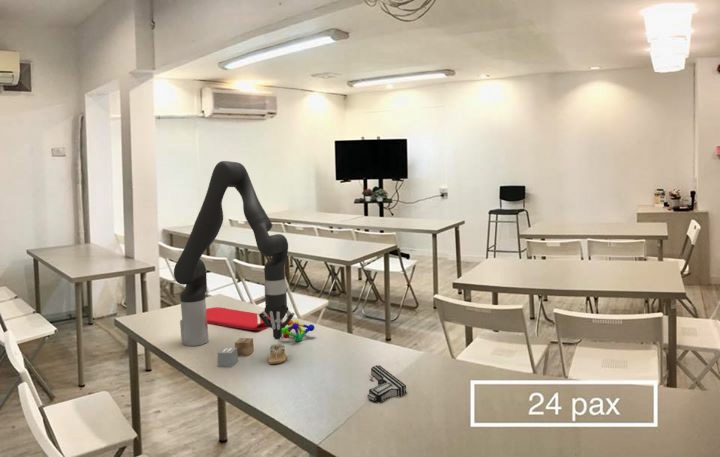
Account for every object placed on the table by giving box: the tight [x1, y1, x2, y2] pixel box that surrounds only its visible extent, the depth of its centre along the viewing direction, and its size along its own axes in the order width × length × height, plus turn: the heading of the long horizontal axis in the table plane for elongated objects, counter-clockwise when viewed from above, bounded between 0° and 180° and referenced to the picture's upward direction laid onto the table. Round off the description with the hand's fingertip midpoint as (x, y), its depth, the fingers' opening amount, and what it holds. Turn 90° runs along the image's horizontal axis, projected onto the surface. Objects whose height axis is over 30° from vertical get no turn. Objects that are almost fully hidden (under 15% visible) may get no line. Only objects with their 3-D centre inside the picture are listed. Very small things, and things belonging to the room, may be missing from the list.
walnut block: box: [234, 337, 255, 357], centre depth 188 cm, size 5×5×5 cm
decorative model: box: [282, 319, 315, 342], centre depth 202 cm, size 13×9×15 cm
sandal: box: [267, 343, 288, 365], centre depth 184 cm, size 7×16×5 cm, turn 13°
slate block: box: [217, 347, 239, 368], centre depth 179 cm, size 5×5×5 cm
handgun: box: [366, 364, 407, 403], centre depth 156 cm, size 3×19×12 cm
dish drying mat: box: [206, 306, 271, 331], centre depth 228 cm, size 16×41×4 cm, turn 57°
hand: (277, 338), depth 183 cm, fingers closed
